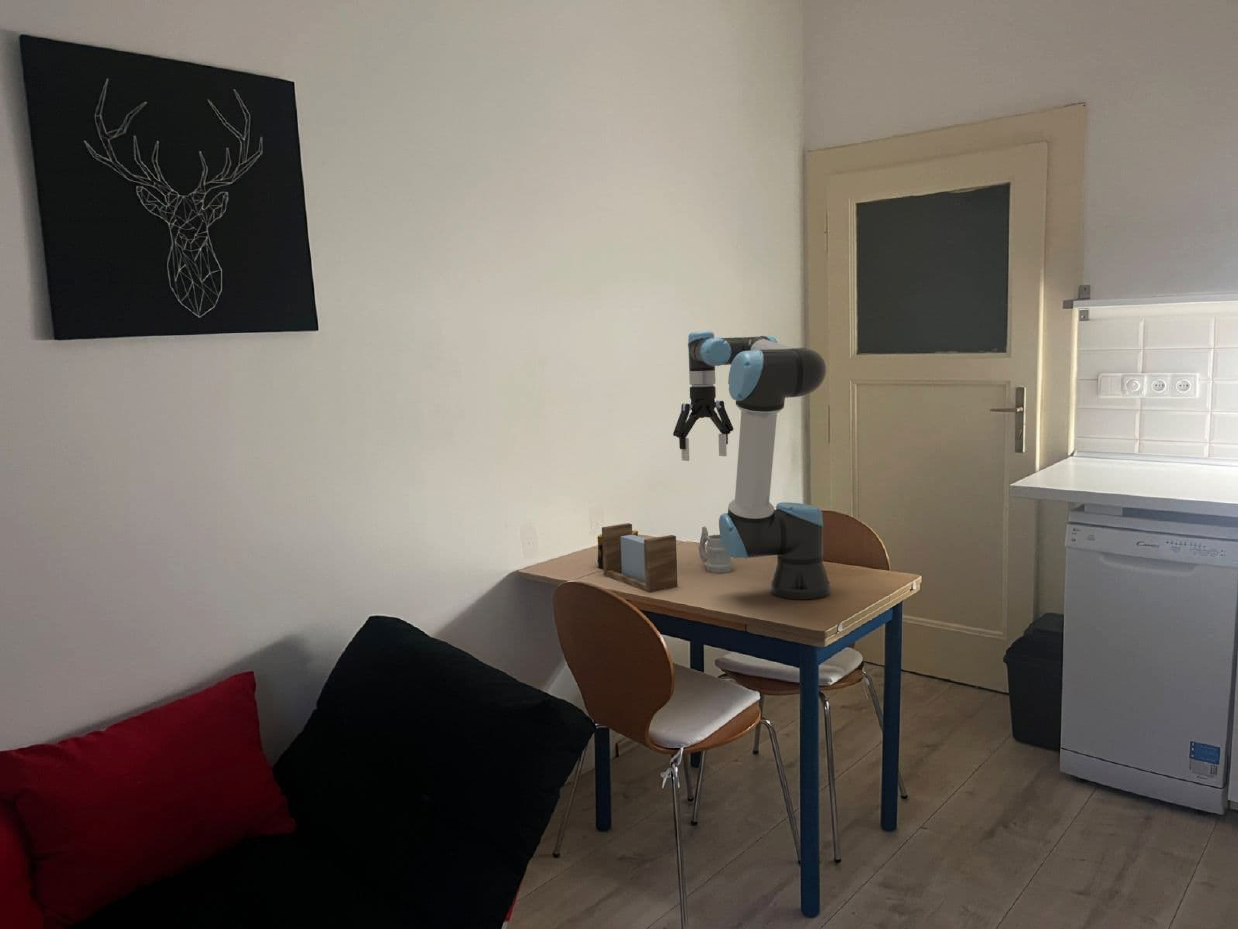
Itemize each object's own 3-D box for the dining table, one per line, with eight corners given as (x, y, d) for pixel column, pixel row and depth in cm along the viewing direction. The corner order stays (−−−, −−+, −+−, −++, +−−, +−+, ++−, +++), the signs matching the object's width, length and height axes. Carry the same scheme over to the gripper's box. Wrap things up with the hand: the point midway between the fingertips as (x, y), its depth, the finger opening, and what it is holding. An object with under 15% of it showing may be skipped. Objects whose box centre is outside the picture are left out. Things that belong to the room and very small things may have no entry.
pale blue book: (657, 584, 254) (656, 541, 252) (645, 586, 252) (643, 543, 250) (633, 575, 264) (632, 534, 262) (622, 577, 262) (620, 536, 260)
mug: (719, 575, 261) (718, 533, 259) (690, 568, 270) (689, 527, 268) (738, 570, 265) (737, 529, 264) (709, 563, 274) (708, 523, 273)
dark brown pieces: (609, 561, 283) (607, 529, 281) (640, 562, 279) (639, 530, 278) (597, 569, 273) (595, 536, 272) (629, 570, 270) (627, 537, 268)
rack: (677, 586, 250) (675, 536, 248) (649, 592, 245) (648, 540, 243) (630, 570, 270) (628, 523, 268) (603, 575, 265) (601, 527, 264)
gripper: (728, 382, 276) (729, 453, 279) (659, 387, 263) (662, 461, 266) (744, 383, 270) (745, 455, 273) (674, 388, 257) (677, 463, 260)
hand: (704, 458), depth 269 cm, fingers open, 13 cm apart
